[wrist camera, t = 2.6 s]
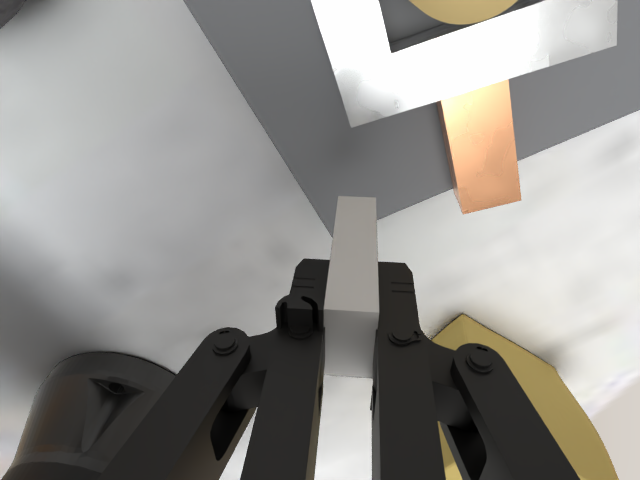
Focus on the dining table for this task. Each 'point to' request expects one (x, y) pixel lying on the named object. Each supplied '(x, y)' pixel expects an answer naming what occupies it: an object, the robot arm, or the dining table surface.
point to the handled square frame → (460, 77)
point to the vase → (9, 10)
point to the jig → (409, 126)
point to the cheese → (536, 402)
